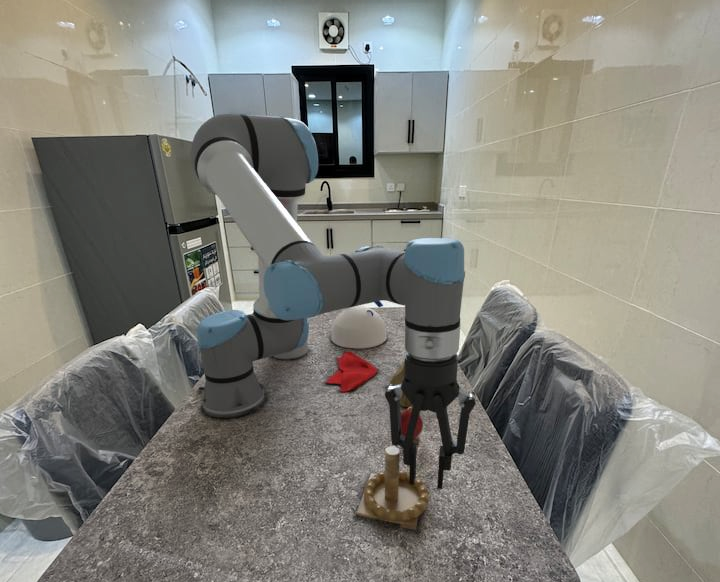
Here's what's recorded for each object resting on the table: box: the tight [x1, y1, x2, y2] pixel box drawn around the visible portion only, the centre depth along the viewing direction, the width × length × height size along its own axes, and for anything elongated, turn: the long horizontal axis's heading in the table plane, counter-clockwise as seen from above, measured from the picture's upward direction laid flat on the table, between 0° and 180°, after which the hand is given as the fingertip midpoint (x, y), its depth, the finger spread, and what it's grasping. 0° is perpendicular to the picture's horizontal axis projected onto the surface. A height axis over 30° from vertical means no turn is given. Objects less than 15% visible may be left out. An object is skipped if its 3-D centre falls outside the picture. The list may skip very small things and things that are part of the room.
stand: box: [355, 445, 420, 531], centre depth 65 cm, size 10×10×11 cm
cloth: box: [326, 350, 378, 393], centre depth 115 cm, size 26×14×2 cm, turn 171°
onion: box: [400, 406, 424, 439], centre depth 83 cm, size 6×6×8 cm
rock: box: [388, 360, 413, 408], centre depth 99 cm, size 11×9×10 cm
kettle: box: [330, 301, 388, 350], centre depth 136 cm, size 20×21×18 cm
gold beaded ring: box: [363, 470, 430, 522], centre depth 67 cm, size 11×11×2 cm
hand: (426, 480), depth 64 cm, fingers open, 4 cm apart
